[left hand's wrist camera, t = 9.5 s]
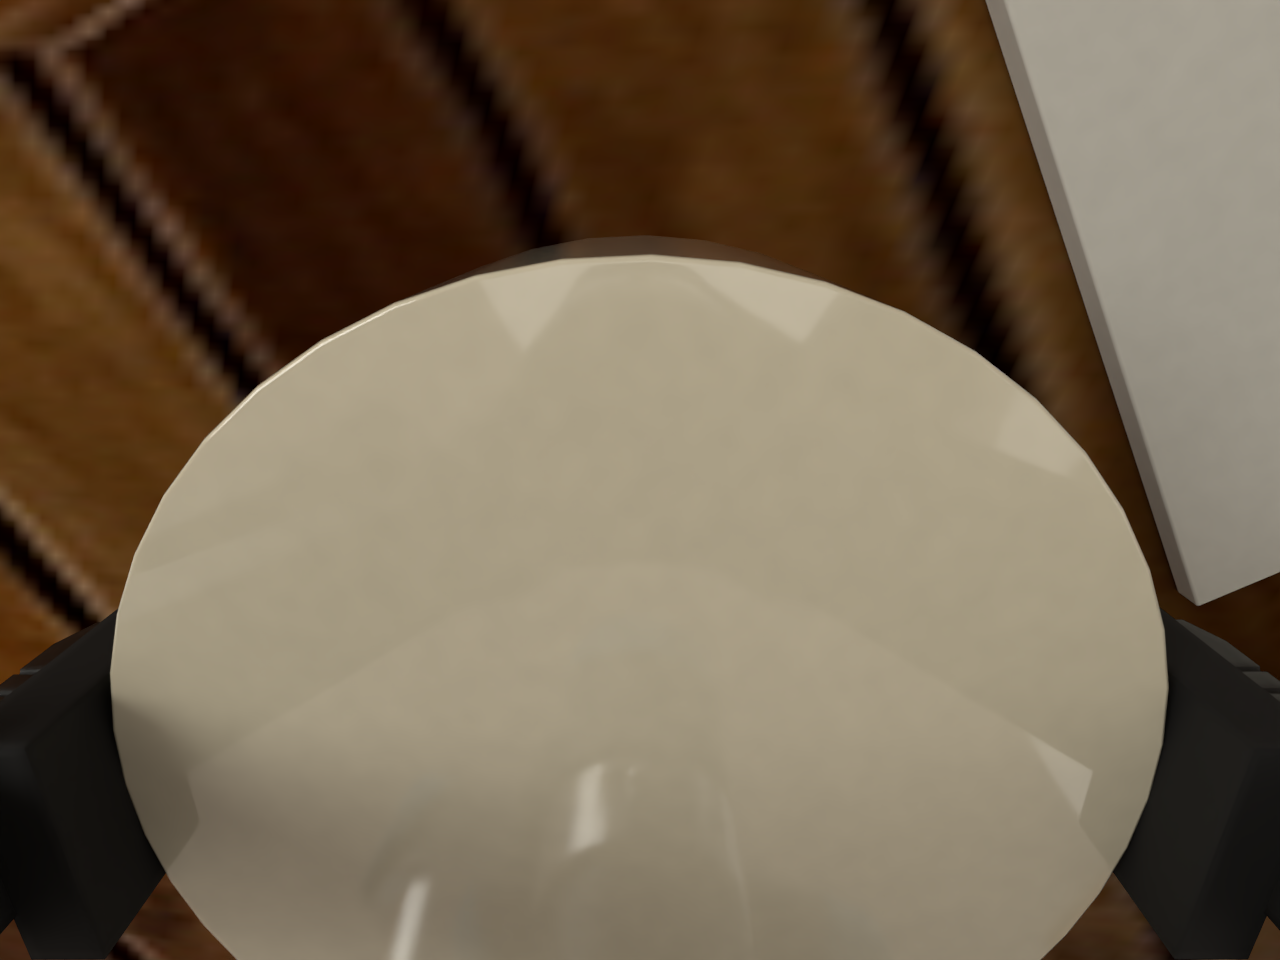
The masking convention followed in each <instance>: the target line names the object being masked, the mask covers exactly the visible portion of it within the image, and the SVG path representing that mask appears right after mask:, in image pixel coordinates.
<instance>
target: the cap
mask: <svg viewBox="0 0 1280 960" xmlns="http://www.w3.org/2000/svg"><path fill="white" fill-rule="evenodd" d="M110 681H111V700H112V719H113V732H114V736H115V741H116V745H117V750H118V755H119V759H120V764H121V768H122V773H123V777H124V781H125V784H126V787H127V790H128V793H129V796H130V798H131V801H132V804H133V806H134V809H135V811H136V814H137V817H138V819H139V822H140V824H141V827H142V829H143V832H144V835H145V837H146V838H147V840H148V842H149V844H150V845H151V847H152V849H153V851H154V853H155V854H156V856H157V858H158V860H159V861H160V863H161V865H162V867H163V869H164V870H165V872H166V874H167V876H168V877H169V879H170V881H171V883H172V884H173V885H174V887H175V888H176V889H177V891H178V892H179V893H180V895H181V896H182V897H183V899H184V900H185V901H186V903H187V904H188V905H189V907H190V908H191V909H192V911H193V912H194V913H195V915H196V916H197V917H198V919H199V920H200V921H201V923H202V924H203V925H204V926H205V927H206V928H207V929H208V930H209V931H210V932H211V933H212V934H213V936H214V937H215V938H216V939H217V940H218V941H219V942H220V943H221V944H222V945H223V946H224V947H225V948H226V949H227V950H228V951H229V952H230V953H231V954H232V955H233V956H234V957H235V958H236V959H237V960H1041V959H1042V958H1043V957H1044V956H1045V955H1046V954H1047V953H1048V952H1049V951H1050V950H1051V949H1052V948H1053V947H1054V946H1055V945H1056V944H1058V943H1059V942H1060V941H1061V940H1062V939H1063V938H1064V937H1065V936H1066V935H1067V933H1068V932H1069V931H1070V930H1071V928H1072V927H1073V926H1074V925H1075V923H1076V922H1077V921H1078V920H1079V918H1080V917H1081V916H1082V915H1083V913H1084V912H1085V911H1086V910H1087V909H1088V907H1089V906H1090V905H1091V904H1092V902H1093V901H1094V900H1095V899H1096V897H1097V896H1098V895H1099V894H1100V892H1101V890H1102V889H1103V887H1104V885H1105V884H1106V882H1107V880H1108V879H1109V877H1110V876H1111V874H1112V872H1113V871H1114V869H1115V867H1116V866H1117V864H1118V862H1119V861H1120V859H1121V858H1122V856H1123V854H1124V853H1125V851H1126V849H1127V848H1128V845H1129V843H1130V841H1131V838H1132V836H1133V834H1134V832H1135V829H1136V827H1137V825H1138V822H1139V820H1140V818H1141V815H1142V813H1143V811H1144V808H1145V806H1146V804H1147V801H1148V798H1149V795H1150V792H1151V789H1152V785H1153V781H1154V777H1155V773H1156V770H1157V766H1158V762H1159V758H1160V754H1161V751H1162V747H1163V741H1164V731H1165V720H1166V710H1167V700H1168V690H1169V685H1168V671H1167V657H1166V643H1165V629H1164V625H1163V621H1162V617H1161V613H1160V609H1159V605H1158V601H1157V597H1156V593H1155V589H1154V585H1153V581H1152V576H1151V572H1150V569H1149V566H1148V564H1147V562H1146V560H1145V557H1144V555H1143V553H1142V551H1141V548H1140V546H1139V544H1138V541H1137V539H1136V537H1135V535H1134V532H1133V530H1132V528H1131V526H1130V523H1129V521H1128V519H1127V516H1126V514H1125V512H1124V510H1123V508H1122V506H1121V505H1120V503H1119V502H1118V500H1117V499H1116V497H1115V496H1114V494H1113V493H1112V491H1111V490H1110V488H1109V487H1108V485H1107V484H1106V482H1105V481H1104V479H1103V478H1102V476H1101V474H1100V473H1099V471H1098V470H1097V468H1096V467H1095V465H1094V464H1093V462H1092V461H1091V459H1090V458H1089V456H1088V455H1087V453H1086V452H1085V451H1084V450H1083V449H1082V448H1081V446H1080V445H1079V444H1078V443H1077V442H1076V441H1075V440H1074V439H1073V438H1072V437H1071V436H1070V435H1069V434H1068V432H1067V431H1066V430H1065V429H1064V428H1063V427H1062V426H1061V425H1060V424H1059V423H1058V422H1057V421H1056V420H1055V418H1054V417H1053V416H1052V415H1051V414H1050V413H1049V412H1048V411H1047V410H1046V409H1045V408H1044V407H1043V406H1042V404H1041V403H1040V402H1039V401H1038V400H1037V399H1036V398H1035V397H1033V396H1032V395H1031V394H1029V393H1028V392H1027V391H1026V390H1024V389H1023V388H1022V387H1021V386H1019V385H1018V384H1017V383H1015V382H1014V381H1013V380H1012V379H1010V378H1009V377H1008V376H1006V375H1005V374H1004V373H1003V372H1001V371H1000V370H999V369H997V368H996V367H995V366H994V365H992V364H991V363H990V362H989V361H987V360H986V359H985V358H983V357H982V356H981V355H980V354H978V353H977V352H976V351H974V350H972V349H970V348H969V347H967V346H965V345H963V344H962V343H960V342H958V341H956V340H954V339H953V338H951V337H949V336H947V335H945V334H944V333H942V332H940V331H938V330H937V329H935V328H933V327H931V326H929V325H928V324H926V323H924V322H922V321H921V320H919V319H917V318H915V317H913V316H912V315H910V314H908V313H906V312H904V311H902V310H900V309H897V308H895V307H892V306H890V305H888V304H885V303H883V302H880V301H878V300H876V299H873V298H871V297H868V296H866V295H864V294H861V293H859V292H856V291H854V290H852V289H849V288H847V287H845V286H842V285H840V284H837V283H835V282H833V281H830V280H828V279H825V278H823V277H821V276H818V275H816V274H813V273H811V272H808V271H806V270H803V269H800V268H798V267H795V266H793V265H790V264H787V263H785V262H782V261H779V260H777V259H774V258H772V257H769V256H766V255H764V254H761V253H757V252H753V251H749V250H744V249H740V248H736V247H731V246H727V245H723V244H718V243H714V242H709V241H705V240H694V239H683V238H671V237H660V236H648V235H645V236H625V237H606V238H588V239H583V240H578V241H573V242H567V243H562V244H557V245H552V246H547V247H541V248H536V249H532V250H529V251H526V252H523V253H520V254H517V255H514V256H511V257H508V258H505V259H502V260H499V261H497V262H494V263H491V264H488V265H485V266H482V267H479V268H477V269H474V270H472V271H469V272H467V273H465V274H462V275H460V276H457V277H455V278H453V279H450V280H448V281H445V282H443V283H441V284H438V285H436V286H433V287H431V288H428V289H426V290H424V291H421V292H419V293H416V294H414V295H412V296H409V297H407V298H404V299H402V300H400V301H397V302H395V303H393V304H391V305H389V306H387V307H385V308H383V309H381V310H379V311H377V312H375V313H373V314H371V315H369V316H367V317H365V318H363V319H361V320H359V321H357V322H356V323H354V324H352V325H350V326H348V327H346V328H344V329H342V330H340V331H338V332H336V333H334V334H332V335H330V336H328V337H326V338H324V339H322V340H321V341H319V342H318V343H316V344H315V345H314V346H312V347H311V348H309V349H308V350H307V351H305V352H304V353H302V354H301V355H300V356H298V357H297V358H295V359H294V360H293V361H291V362H290V363H288V364H287V365H286V366H284V367H283V368H282V369H280V370H279V371H277V372H276V373H275V374H273V375H272V376H270V377H269V378H268V379H266V380H265V381H263V382H262V383H261V384H259V385H258V386H257V387H256V388H255V389H254V390H253V391H252V392H251V393H250V394H249V395H248V396H247V397H246V398H245V399H244V400H243V401H242V402H241V403H240V404H239V405H237V406H236V407H235V408H234V409H233V410H232V411H231V412H230V413H229V414H228V415H227V416H226V417H225V418H224V419H223V420H222V421H221V422H220V423H219V424H218V425H217V426H216V427H215V428H214V429H213V430H212V431H211V432H210V433H209V434H208V435H207V436H206V437H205V438H204V440H203V441H202V442H201V444H200V445H199V447H198V448H197V449H196V451H195V452H194V453H193V455H192V456H191V458H190V459H189V460H188V462H187V463H186V464H185V466H184V467H183V469H182V470H181V471H180V473H179V474H178V476H177V477H176V478H175V480H174V481H173V482H172V484H171V485H170V487H169V488H168V489H167V491H166V492H165V493H164V495H163V497H162V499H161V501H160V503H159V505H158V507H157V509H156V511H155V514H154V516H153V518H152V520H151V522H150V524H149V526H148V528H147V530H146V532H145V534H144V536H143V538H142V540H141V542H140V544H139V546H138V548H137V550H136V552H135V555H134V558H133V561H132V565H131V568H130V571H129V575H128V578H127V582H126V585H125V588H124V592H123V595H122V598H121V602H120V605H119V609H118V612H117V617H116V626H115V634H114V643H113V652H112V660H111V669H110Z"/></svg>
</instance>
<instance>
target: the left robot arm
mask: <svg viewBox="0 0 1280 960" xmlns="http://www.w3.org/2000/svg"><path fill="white" fill-rule="evenodd" d="M118 609H119V608H118ZM118 609H117V610H116V611H114V612H113V613H112V614H111V615H109V616H108V617H107V618H106V619H104V620H103V621H102V622H97V623H95V624H93V625H91V626H89V627H87V628H85V629H83V630H81V631H79V632H77V633H75V634H73V635H71V636H69V637H67V638H65V639H63V640H61V641H59V642H57V643H55V644H53V645H52V646H51V647H49V648H48V649H47V650H45V651H44V652H43V653H41V654H40V655H39V656H37V657H36V658H35V659H34V660H32V661H31V662H30V663H28V664H27V665H26V666H24V667H23V668H22V669H20V671H21V672H20V674H19V675H12V676H11V677H10V678H8V679H7V680H6V681H4V682H3V683H2V684H1V685H0V934H1V933H2V931H3V930H4V929H5V928H6V927H7V926H8V925H9V923H10V922H11V921H12V920H13V919H14V920H15V922H16V925H17V927H18V929H19V932H20V934H21V936H22V939H23V941H24V943H25V945H26V948H27V950H28V952H29V955H30V957H31V959H105V958H106V957H107V955H108V954H109V953H110V951H111V950H112V948H113V947H114V946H115V944H116V943H117V941H118V940H119V938H120V937H121V936H122V934H123V933H124V931H125V930H126V928H127V927H128V926H129V924H130V923H131V921H132V920H133V919H134V917H135V916H136V914H137V913H138V911H139V910H140V909H141V907H142V906H143V904H144V903H145V902H146V900H147V899H148V897H149V896H150V894H151V893H152V892H153V890H154V889H155V887H156V886H157V884H158V883H159V882H160V880H161V879H162V877H163V876H164V875H165V873H166V872H165V870H164V869H163V867H162V865H161V863H160V861H159V860H158V858H157V856H156V854H155V853H154V851H153V849H152V847H151V845H150V844H149V842H148V840H147V838H146V837H145V835H144V832H143V829H142V827H141V824H140V822H139V819H138V817H137V814H136V811H135V809H134V806H133V804H132V801H131V798H130V796H129V793H128V790H127V787H126V784H125V781H124V777H123V773H122V768H121V764H120V759H119V755H118V750H117V745H116V741H115V736H114V732H113V719H112V700H111V681H110V669H111V660H112V652H113V643H114V634H115V626H116V617H117V612H118ZM1159 609H1160V613H1161V617H1162V621H1163V625H1164V629H1165V643H1166V657H1167V671H1168V685H1169V690H1168V700H1167V710H1166V720H1165V731H1164V741H1163V747H1162V751H1161V754H1160V758H1159V762H1158V766H1157V770H1156V773H1155V777H1154V781H1153V785H1152V789H1151V792H1150V795H1149V798H1148V801H1147V804H1146V806H1145V808H1144V811H1143V813H1142V815H1141V818H1140V820H1139V822H1138V825H1137V827H1136V829H1135V832H1134V834H1133V836H1132V838H1131V841H1130V843H1129V845H1128V848H1127V849H1126V851H1125V853H1124V854H1123V856H1122V858H1121V859H1120V861H1119V862H1118V864H1117V866H1116V867H1115V869H1114V871H1113V872H1114V874H1115V875H1116V877H1117V878H1118V879H1119V881H1120V882H1121V884H1122V885H1123V887H1124V888H1125V889H1126V891H1127V892H1128V894H1129V895H1130V897H1131V898H1132V899H1133V901H1134V902H1135V904H1136V905H1137V906H1138V908H1139V909H1140V911H1141V912H1142V914H1143V915H1144V916H1145V918H1146V919H1147V921H1148V922H1149V924H1150V925H1151V926H1152V928H1153V929H1154V931H1155V932H1156V933H1157V935H1158V936H1159V938H1160V939H1161V941H1162V942H1163V943H1164V945H1165V946H1166V948H1167V949H1168V951H1169V952H1170V953H1171V955H1172V956H1173V958H1174V959H1248V958H1249V955H1250V953H1251V951H1252V948H1253V946H1254V944H1255V942H1256V939H1257V937H1258V935H1259V932H1260V930H1261V928H1262V925H1263V923H1264V921H1265V919H1266V916H1268V917H1269V919H1270V920H1271V921H1272V922H1273V923H1274V924H1275V925H1276V927H1277V928H1278V929H1279V930H1280V681H1279V680H1277V679H1276V678H1275V677H1273V676H1272V675H1271V674H1269V673H1268V672H1261V671H1260V666H1259V665H1257V664H1256V663H1255V662H1253V661H1252V660H1251V659H1249V658H1248V657H1247V656H1245V655H1244V654H1243V653H1241V652H1240V651H1239V650H1237V649H1236V648H1235V647H1233V646H1232V645H1231V644H1229V643H1228V642H1227V641H1225V640H1223V639H1221V638H1219V637H1217V636H1215V635H1213V634H1211V633H1209V632H1207V631H1205V630H1203V629H1200V628H1198V627H1196V626H1194V625H1192V624H1190V623H1188V622H1186V621H1184V620H1175V619H1174V618H1173V617H1171V616H1170V615H1169V614H1168V613H1166V612H1165V611H1164V610H1162V609H1161V608H1160V607H1159Z"/></svg>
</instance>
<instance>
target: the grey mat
mask: <svg viewBox="0 0 1280 960" xmlns="http://www.w3.org/2000/svg"><path fill="white" fill-rule="evenodd" d="M985 1H986V4H987V7H988V10H989V13H990V16H991V19H992V22H993V25H994V28H995V31H996V34H997V37H998V40H999V44H1000V47H1001V50H1002V53H1003V56H1004V59H1005V62H1006V65H1007V68H1008V71H1009V74H1010V77H1011V80H1012V83H1013V87H1014V90H1015V93H1016V96H1017V99H1018V102H1019V105H1020V108H1021V111H1022V114H1023V117H1024V120H1025V123H1026V126H1027V129H1028V133H1029V136H1030V139H1031V142H1032V145H1033V148H1034V151H1035V154H1036V157H1037V160H1038V163H1039V166H1040V169H1041V172H1042V176H1043V179H1044V182H1045V185H1046V188H1047V191H1048V194H1049V197H1050V200H1051V203H1052V206H1053V209H1054V212H1055V215H1056V218H1057V222H1058V225H1059V228H1060V231H1061V234H1062V237H1063V240H1064V243H1065V246H1066V249H1067V252H1068V255H1069V258H1070V261H1071V265H1072V268H1073V271H1074V274H1075V277H1076V280H1077V283H1078V286H1079V289H1080V292H1081V295H1082V298H1083V301H1084V304H1085V307H1086V311H1087V314H1088V317H1089V320H1090V323H1091V326H1092V329H1093V332H1094V335H1095V338H1096V341H1097V344H1098V347H1099V350H1100V353H1101V357H1102V360H1103V363H1104V366H1105V369H1106V372H1107V375H1108V378H1109V381H1110V384H1111V387H1112V390H1113V393H1114V396H1115V400H1116V403H1117V406H1118V409H1119V412H1120V415H1121V418H1122V421H1123V424H1124V427H1125V430H1126V433H1127V436H1128V439H1129V442H1130V446H1131V449H1132V452H1133V455H1134V458H1135V461H1136V464H1137V467H1138V470H1139V473H1140V476H1141V479H1142V482H1143V485H1144V489H1145V492H1146V495H1147V498H1148V501H1149V504H1150V507H1151V510H1152V513H1153V516H1154V519H1155V522H1156V525H1157V528H1158V531H1159V535H1160V538H1161V541H1162V544H1163V547H1164V550H1165V553H1166V556H1167V559H1168V562H1169V565H1170V568H1171V571H1172V574H1173V578H1174V581H1175V584H1176V587H1177V590H1178V592H1179V593H1180V594H1182V595H1183V596H1184V597H1186V598H1187V599H1188V600H1190V601H1191V602H1193V603H1194V604H1195V605H1197V606H1200V605H1202V604H1205V603H1207V602H1209V601H1212V600H1214V599H1217V598H1219V597H1221V596H1224V595H1226V594H1228V593H1231V592H1233V591H1236V590H1238V589H1240V588H1243V587H1245V586H1248V585H1250V584H1252V583H1255V582H1257V581H1260V580H1262V579H1264V578H1267V577H1269V576H1271V575H1274V574H1276V573H1279V572H1280V0H985Z"/></svg>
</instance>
